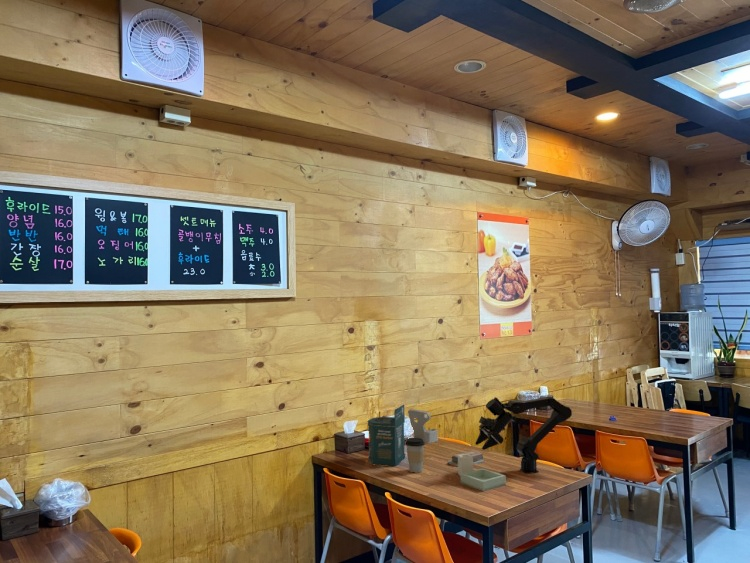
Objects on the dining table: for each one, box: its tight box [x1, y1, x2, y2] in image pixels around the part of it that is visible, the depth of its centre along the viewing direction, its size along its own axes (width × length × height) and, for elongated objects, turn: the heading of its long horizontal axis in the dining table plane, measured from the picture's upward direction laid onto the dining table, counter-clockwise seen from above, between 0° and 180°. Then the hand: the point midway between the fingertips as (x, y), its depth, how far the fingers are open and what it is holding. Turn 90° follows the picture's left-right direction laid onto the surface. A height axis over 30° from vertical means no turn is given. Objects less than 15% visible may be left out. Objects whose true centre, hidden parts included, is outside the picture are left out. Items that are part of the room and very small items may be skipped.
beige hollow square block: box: [457, 453, 474, 477], centre depth 265 cm, size 6×6×9 cm
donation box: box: [367, 404, 406, 467], centre depth 291 cm, size 16×16×28 cm
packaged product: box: [447, 450, 487, 468], centre depth 286 cm, size 18×5×10 cm
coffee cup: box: [404, 438, 426, 474], centre depth 273 cm, size 9×9×15 cm
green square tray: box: [459, 467, 507, 492], centre depth 252 cm, size 14×14×4 cm
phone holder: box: [407, 408, 439, 444], centre depth 335 cm, size 17×10×18 cm, turn 44°
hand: (479, 446), depth 267 cm, fingers open, 9 cm apart
